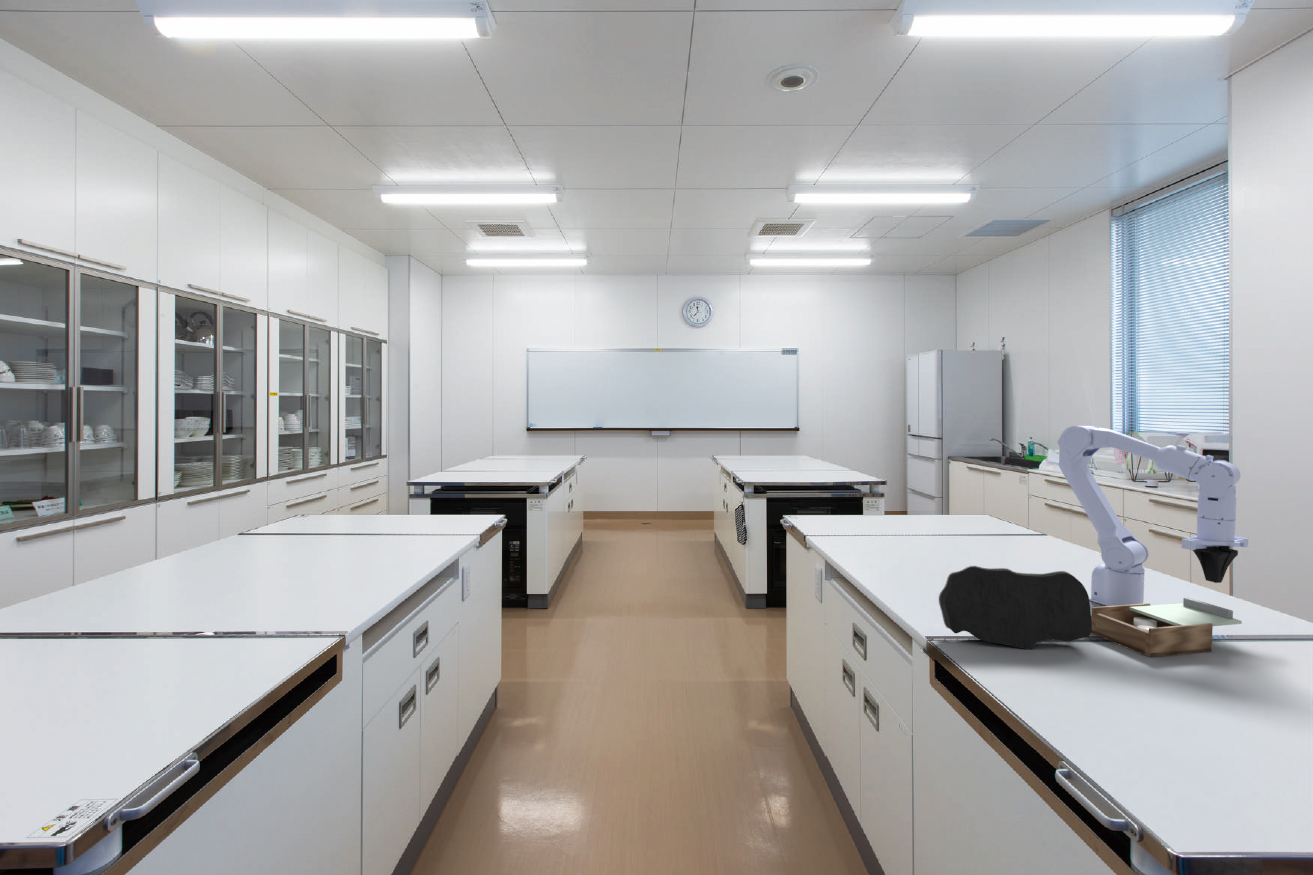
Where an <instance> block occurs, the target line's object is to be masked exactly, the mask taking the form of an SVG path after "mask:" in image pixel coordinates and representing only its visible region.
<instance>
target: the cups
mask: <svg viewBox="0 0 1313 875" xmlns="http://www.w3.org/2000/svg"><path fill="white" fill-rule="evenodd" d="M1133 626H1135V627H1138V628H1141V629H1144V630H1146V631H1149V628H1157V621H1155V620H1153V619H1149V618H1145V617H1134V623H1133Z"/></svg>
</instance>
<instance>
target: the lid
mask: <svg viewBox="0 0 1313 875" xmlns="http://www.w3.org/2000/svg"><path fill="white" fill-rule="evenodd" d="M1129 610H1131V611H1134V612H1137V613H1140V614H1143V615H1146V616H1149V617H1152V618H1155V619H1157V620H1160V621H1163V622H1166V623H1169V624H1172V625H1175V626H1181V625H1193V624H1206V623H1211V624H1213V627H1220V626H1234V625H1242V623H1243V622H1242V620H1240V619H1236V618H1234V610H1232V609H1229V608H1225V607H1222V606H1218V605H1215V604H1211V603H1208V602H1205V601H1202V600H1197V599H1194V598H1191V597H1183V602H1179V603H1178V602H1177V603H1168V604H1167V603H1166V604H1152V605H1151V604H1150V606H1136V607H1130V608H1129Z"/></svg>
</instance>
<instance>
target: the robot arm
mask: <svg viewBox="0 0 1313 875" xmlns="http://www.w3.org/2000/svg"><path fill="white" fill-rule="evenodd" d="M1057 445H1058V447H1059V449H1058V450H1059V451H1058V452H1059V456H1058V467H1059V469H1060V471H1061V473H1062V474H1063V477H1064V478H1065V480H1066V482H1067V483H1068V484H1069V486H1070V488H1071V490H1072V491H1073V493H1074V496H1076V498H1077V500H1078V501H1079V503H1080V505H1081V506H1082V509H1083V510H1084V512H1085V514H1086V515H1087V517H1088V519H1089V521H1090V522H1091V524H1092V525H1093V527H1094V529H1095V531H1096V533H1097V544H1098V545H1099V548H1100V552H1101V554H1100V556H1101V560H1102V562H1103V563H1101V564H1098V565H1096V566H1095V567H1094V568H1093V570H1092V573H1091V587H1090V589H1091V590H1090V597H1089V601H1091V602H1094V603H1097V604H1100V605H1102V606H1116V605H1130V604H1143V603H1144V597H1145V596H1144V594H1145V571H1146V570H1145V568H1144V567H1143V564H1144V563H1145V562H1147V560H1148V558H1149V550H1148V548H1147V546H1146V544H1144V543H1143V542H1141V541H1140V540H1139V539H1138V538H1136V536H1135V535H1134V534H1133V532H1132V531H1131V530H1130V529H1128V528H1127V527H1126V526H1124V525H1123V523H1122V521H1121V519H1120V518H1119V517H1118V515H1117V513H1116V512H1115V510H1114V507H1113V506H1112V505H1111V503H1110V501H1109V500H1108V498H1107V497H1106V494H1104V492H1103V490H1102V488H1101V487H1100V485H1099V484H1098V482H1097V480H1096V478H1095V477H1094V475H1093V474H1092V472H1091V471H1090V469H1089V467H1088V465H1089V463H1090V461H1091V459H1092V458H1093V456H1094V455H1095V453H1096V452H1098V451H1099V450H1100V449H1102V448H1103V449H1106V448H1111V449H1116V450H1120V451H1123V452H1126V453H1127V454H1128V453H1129V454H1132V455H1135V456H1138V457H1142V458H1145V459H1148V460H1151V461H1152V462H1153V463H1154V465H1155V467H1157V469H1159V470H1162V471H1165V472H1167V473H1170V474H1172V475H1175V476H1178V477H1181V478H1184V479H1187V480H1190V481H1195V483H1196V484H1198V486H1199V487H1198V495H1197V516H1196V535H1195V536H1192V537H1188V538H1181V548H1182V549H1185V550H1190V551H1192V552H1193V553H1194V554H1195V556H1196V557H1197V559H1198V561H1199V563H1200V566H1201V570H1202V572H1203V574H1204V579H1205V581H1207V582H1211V583H1215V584H1220V583H1222V582H1223V580H1224V578H1225V576H1226V575H1225V574H1226V573H1227V570H1228V567H1230V566H1231V565H1230V564H1231V563H1232V562H1233V560H1234V559H1235V558H1236V557H1238V555H1239V550H1237V549H1232V548H1235V547H1236V548H1239V547H1241V548H1248V547H1249V538H1248V537H1243V536H1239V535H1236V516H1237V515H1236V513H1237V512H1236V511H1237V497H1236V495H1237V494H1236V493H1237V487H1236V486H1237V485H1236V484H1237V483H1238V482H1239V481H1240V479H1241V471H1240V469H1239V468H1238V467H1237V466H1236V464H1233V463H1231V462H1229V461H1227V460H1225V459H1217V460H1214V458H1215V457H1214V456H1213V455H1211V454H1208V455H1203V454H1199V453H1196V452H1194V451H1190V450H1188V449H1187V446H1185V445H1181V444H1177V445H1176V446H1175V445H1172V444H1170V445H1167V446H1163V447H1160V446H1157V445H1155V444H1151V443H1148V442H1146V441H1143V440H1141V439H1138V438H1136V437H1132V436H1131V435H1127V434H1125V433H1122V432H1119V431H1116V430H1114V429H1110V428H1107V427H1105V428H1104V427H1099V426H1096V425H1094V424H1092V425H1091V424H1090V425H1071V426H1069V427H1067V428H1065V429H1064V430H1062V433H1061V434H1060V436H1059V438H1058V440H1057Z"/></svg>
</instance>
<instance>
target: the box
mask: <svg viewBox="0 0 1313 875" xmlns="http://www.w3.org/2000/svg"><path fill="white" fill-rule="evenodd" d="M1150 605H1151V603H1149V602H1146V603H1145V602H1143V604H1130V605H1116V606H1105V605H1102V606H1093V607H1091V621H1092V630H1091V634H1092V635H1095V636H1097V635H1098V637H1100V636H1101V637H1100V638H1102V637H1103V638H1102V639H1105V638H1106V639H1105V640H1107V639H1108V640H1107V641H1110V642H1113V643H1115V644H1118V645H1119V644H1120V646H1121V647H1124V648H1126V647H1127V649H1129V650H1131V651H1134V652H1136V653H1139V654H1141V655H1143V656H1146V657H1149V658H1158V657H1169V656H1178V655H1179V656H1180V655H1181V656H1182V655H1192V654H1202V653H1212V652H1213V628H1214V626H1213V624H1211V623H1206V624H1193V625H1181V626H1175V625H1172V624H1169V623H1166V622H1163V621H1160V620H1157V619H1155V618H1152V617H1149V616H1146V615H1143V614H1140V613H1137V612H1134V611H1131V610H1129V608H1130V607H1136V606H1150ZM1134 617H1145V618H1149V619H1153V620H1155V621H1157V628H1149V631H1146V630H1144V629H1141V628H1138V627H1135V626H1133V623H1134Z"/></svg>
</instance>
